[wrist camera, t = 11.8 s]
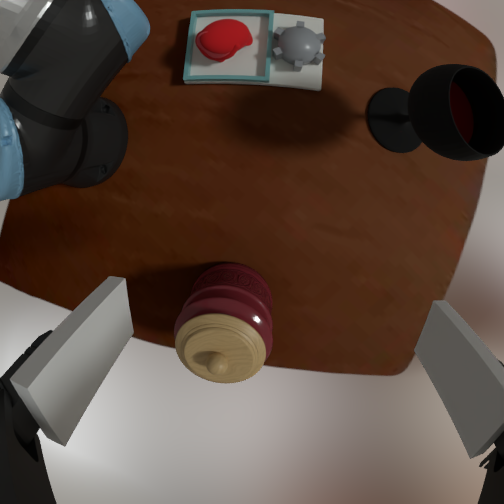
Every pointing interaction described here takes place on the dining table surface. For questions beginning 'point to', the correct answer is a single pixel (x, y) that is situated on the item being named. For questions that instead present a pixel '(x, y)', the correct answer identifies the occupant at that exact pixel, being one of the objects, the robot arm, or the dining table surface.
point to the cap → (223, 39)
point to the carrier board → (261, 51)
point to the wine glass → (442, 114)
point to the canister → (226, 324)
